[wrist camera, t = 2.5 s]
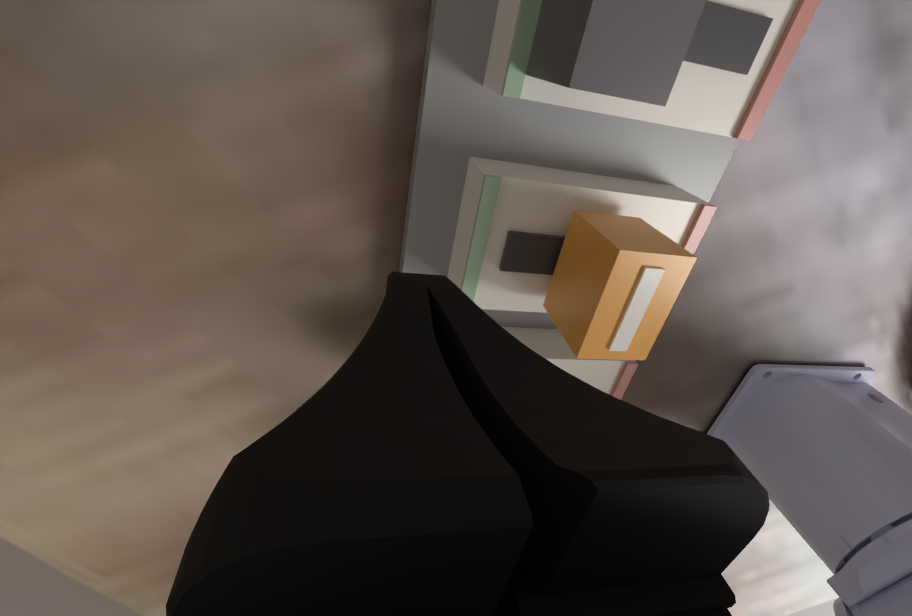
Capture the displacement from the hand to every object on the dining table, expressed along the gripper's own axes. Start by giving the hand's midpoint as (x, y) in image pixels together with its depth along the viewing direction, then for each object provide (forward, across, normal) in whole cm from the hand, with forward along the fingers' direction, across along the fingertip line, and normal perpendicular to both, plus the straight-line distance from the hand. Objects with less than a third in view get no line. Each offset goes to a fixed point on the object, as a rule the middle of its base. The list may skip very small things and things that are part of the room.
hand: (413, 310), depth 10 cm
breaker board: (+8, -6, +4) cm, 11 cm away
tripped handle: (+4, -6, 0) cm, 7 cm away
